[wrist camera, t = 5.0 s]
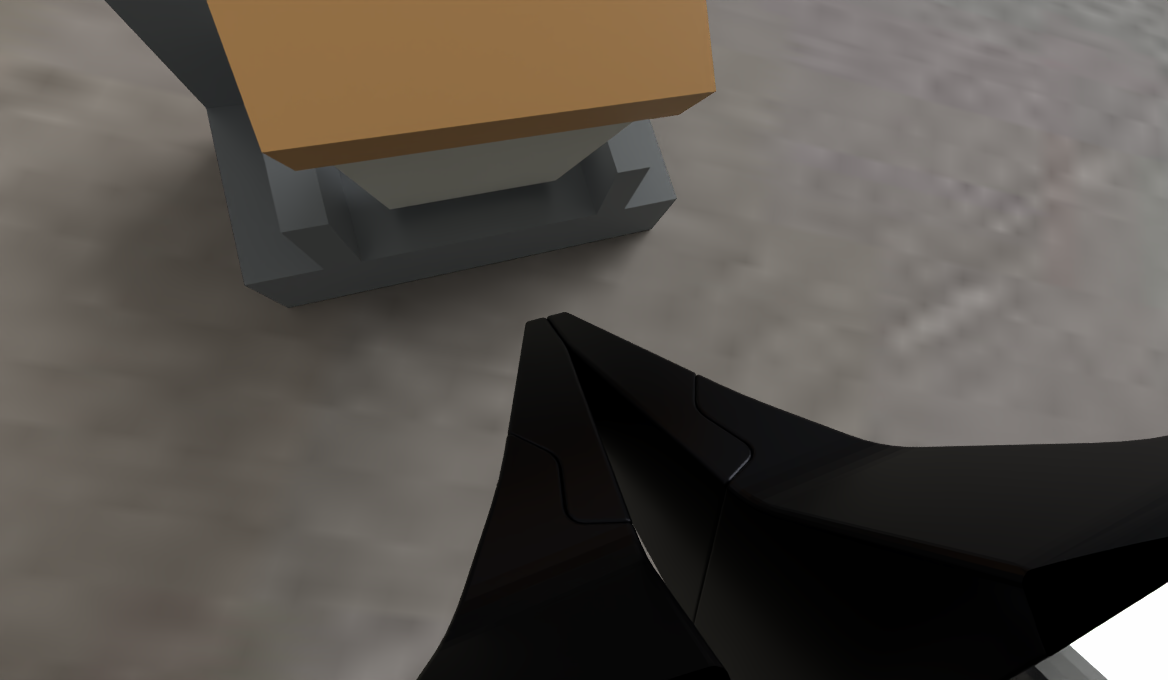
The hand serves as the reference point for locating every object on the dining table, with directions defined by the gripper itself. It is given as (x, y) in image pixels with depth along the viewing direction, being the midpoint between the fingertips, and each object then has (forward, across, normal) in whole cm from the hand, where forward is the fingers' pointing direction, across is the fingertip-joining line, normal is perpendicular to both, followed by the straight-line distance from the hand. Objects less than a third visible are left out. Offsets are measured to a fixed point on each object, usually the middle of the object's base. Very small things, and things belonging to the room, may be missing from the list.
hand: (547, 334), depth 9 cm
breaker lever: (+10, 0, -1) cm, 10 cm away
